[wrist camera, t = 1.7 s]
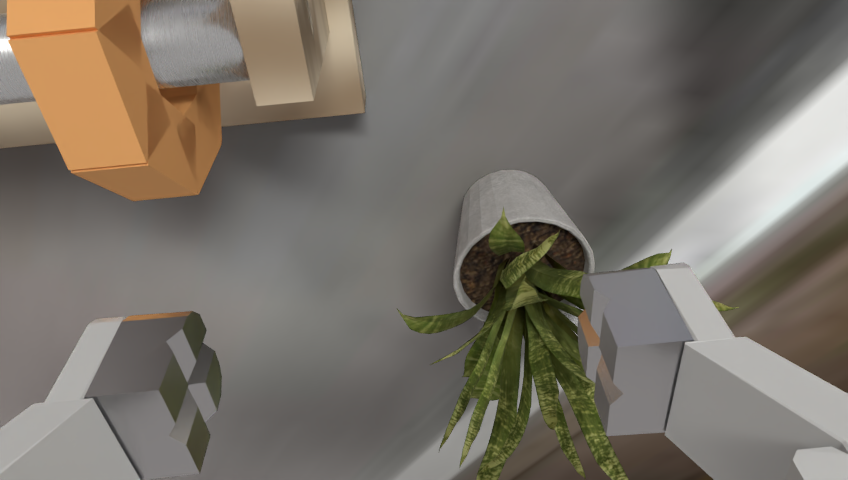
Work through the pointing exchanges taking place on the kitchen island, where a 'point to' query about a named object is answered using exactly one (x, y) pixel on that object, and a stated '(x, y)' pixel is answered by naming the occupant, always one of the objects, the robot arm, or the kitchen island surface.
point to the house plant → (523, 317)
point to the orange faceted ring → (113, 99)
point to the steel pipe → (163, 47)
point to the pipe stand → (261, 69)
